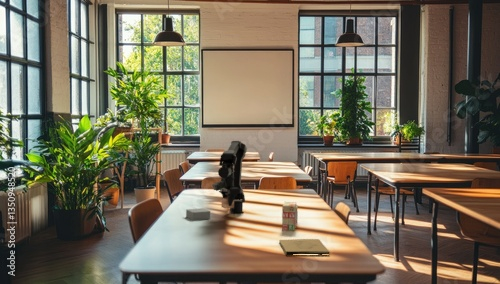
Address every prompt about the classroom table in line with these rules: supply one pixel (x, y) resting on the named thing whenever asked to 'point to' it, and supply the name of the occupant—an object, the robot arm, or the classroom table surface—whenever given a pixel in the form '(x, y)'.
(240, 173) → the robot arm
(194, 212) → the base block
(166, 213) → the classroom table surface
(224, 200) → the terracotta cube
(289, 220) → the printed carton
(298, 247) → the olive notebook
